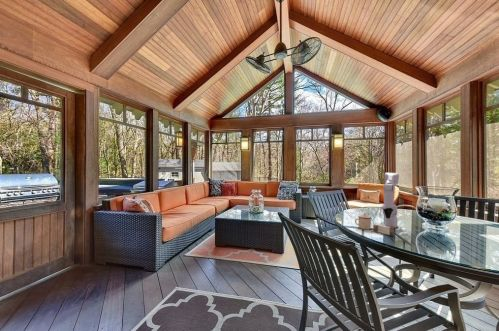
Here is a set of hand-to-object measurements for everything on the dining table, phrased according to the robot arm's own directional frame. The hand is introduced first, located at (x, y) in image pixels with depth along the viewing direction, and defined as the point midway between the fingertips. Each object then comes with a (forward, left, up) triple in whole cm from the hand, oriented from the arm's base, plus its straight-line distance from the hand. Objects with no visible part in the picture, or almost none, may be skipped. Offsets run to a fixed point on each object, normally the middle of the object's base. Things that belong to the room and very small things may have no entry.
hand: (387, 218), depth 177 cm
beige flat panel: (+8, +1, -9) cm, 12 cm away
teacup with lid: (+9, -14, -10) cm, 20 cm away
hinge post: (+7, +8, -10) cm, 15 cm away
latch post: (+9, -4, -10) cm, 14 cm away
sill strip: (+7, +1, -10) cm, 12 cm away
